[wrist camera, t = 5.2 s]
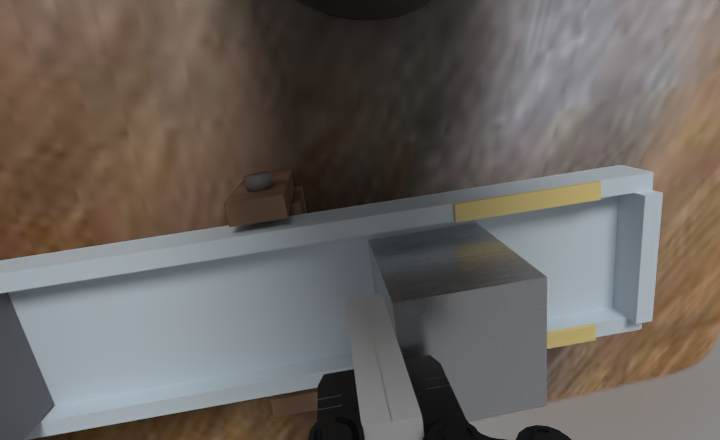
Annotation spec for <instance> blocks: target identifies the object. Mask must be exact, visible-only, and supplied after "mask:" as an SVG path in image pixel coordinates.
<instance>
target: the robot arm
mask: <svg viewBox="0 0 720 440" xmlns="http://www.w3.org/2000/svg"><path fill="white" fill-rule="evenodd" d="M345 307H346V315H347V322H348V329H349V337H350V344H351V352H352V359H353V367H354V369H352V370H346V371H340V372H334V373H329V374H324V375H323V377H322V379H321V381H320V382H319V384H318V421H317V422H316V423H315V425H314V426H313V427H312V429H311V430H310V434H309V437H308V439H309V440H504V439H496V438H490V437H488V436H485V435H483V434H481V433H479V432H478V431H477V429H476V428H475V427H474V426H473V425H471V424H469V423H468V421H467V420H466V418H465V415H464V413H463V411H462V409H461V407H460V405H459V402H458V400H457V398H456V396H455V394H454V392H453V389H452V387H451V386H450V383H449V381H448V379H447V377H446V374H445V372H444V370H443V368H442V366H441V363H439V362H438V361H437V360H436V359H434V358H433V357H432V356H431V355H426V356H420V357H414V358H409V359H403V356H402V353H401V350H400V347H399V344H398V341H397V338H396V335H395V332H394V329H393V326H392V323H391V320H390V317H389V314H388V311H387V308H386V306H385V303H384V300H383V297H382V294H377V295H371V296H365V297H359V298H353V299H347V300H345ZM516 440H571V439H570V438H569V437H568V436H566V435H565V434H563V433H562V432H560V431H559V430H556V429H554V428H551V427H548V426H539V425H535V426H531V427H526V428H525V429H523V430H522V431H521V432H519V434H518V436H517V439H516Z"/></svg>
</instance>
